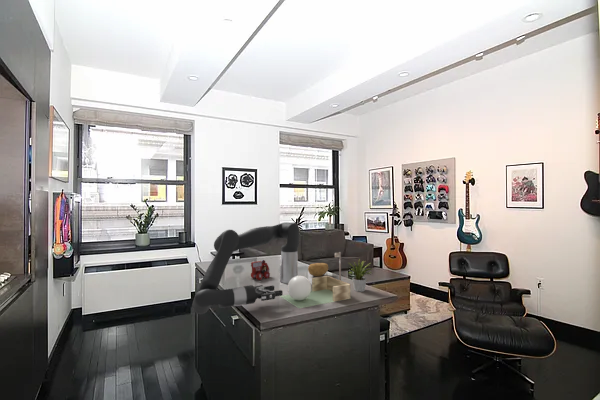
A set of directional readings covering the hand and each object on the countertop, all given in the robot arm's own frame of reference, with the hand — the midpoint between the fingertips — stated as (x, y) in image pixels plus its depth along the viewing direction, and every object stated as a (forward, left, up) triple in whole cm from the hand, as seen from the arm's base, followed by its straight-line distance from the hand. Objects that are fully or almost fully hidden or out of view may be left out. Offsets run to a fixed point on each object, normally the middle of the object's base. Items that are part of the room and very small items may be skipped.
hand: (278, 290), depth 141 cm
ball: (+5, +9, -1) cm, 11 cm away
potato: (-9, +55, -7) cm, 56 cm away
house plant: (+23, +37, -7) cm, 44 cm away
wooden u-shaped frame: (+14, +25, -6) cm, 29 cm away
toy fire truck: (-36, +33, -7) cm, 49 cm away
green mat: (+10, +17, -6) cm, 20 cm away
